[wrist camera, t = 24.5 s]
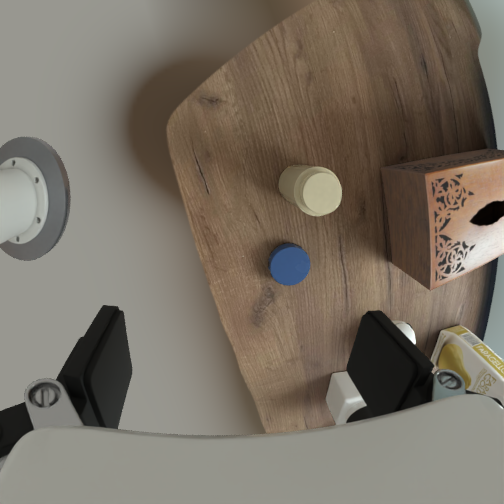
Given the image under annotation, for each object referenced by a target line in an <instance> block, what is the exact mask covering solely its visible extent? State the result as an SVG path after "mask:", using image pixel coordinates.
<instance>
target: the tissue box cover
mask: <svg viewBox="0 0 504 504" xmlns="http://www.w3.org/2000/svg"><path fill="white" fill-rule="evenodd" d="M380 169H381V174H382V180H383V186H384V193H385V200H386V207H387V215H388V223H389V233H390V243H391V255H392V264H394V265H395V266H397V267H398V268H399V269H401V270H402V271H404V272H405V273H407V274H408V275H409V276H411V277H412V278H414V279H415V280H416V281H418V282H419V283H420V284H422V285H423V286H425V287H426V288H427V289H429V290H430V291H431V290H433V289H435V288H437V287H439V286H442V285H444V284H446V283H448V282H450V281H452V280H454V279H456V278H458V277H460V276H462V275H464V274H466V273H468V272H470V271H472V270H474V269H476V268H478V267H480V266H482V265H484V264H486V263H488V262H490V261H491V260H493V259H495V258H497V257H499V256H500V255H502V254H504V150H496V149H483V150H476V151H469V152H463V153H457V154H451V155H445V156H439V157H433V158H428V159H422V160H417V161H412V162H407V163H402V164H396V165H392V166H387V167H382V168H380Z"/></svg>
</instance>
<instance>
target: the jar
mask: <svg viewBox="0 0 504 504" xmlns="http://www.w3.org/2000/svg"><path fill="white" fill-rule="evenodd" d="M279 190H280V193H281V195H282V196H283V198H284V199H285V200H287V201H288V202H290V203H291V204H293V205H294V206H296V207H297V208H299V209H300V210H302V211H303V212H305V213H306V214H309V215H312V216H322V215H326V214H329V213H331V212H333V211H334V210H335V209H336V208H337V207H338V206H339V204H340V201H341V197H342V188H341V185H340V182H339V180H338V178H337V177H336V175H335V174H334V173H333V172H332V171H330V170H329V169H327V168H324V167H318V166H309V165H292V166H290V167H288V168H286V169H285V170H284V171H283V173H282V174H281V176H280V178H279Z"/></svg>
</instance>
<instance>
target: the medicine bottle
mask: <svg viewBox="0 0 504 504" xmlns="http://www.w3.org/2000/svg"><path fill="white" fill-rule="evenodd" d="M326 402H327V404H328V407H329V409H330V412H331V414H332V416H333V419H334V421H335V424H336V425H340V424H345V423H350V422H355V421H360V420H365V419H369V418H374V417H373V415H372V413H371V412H370V410H369V408H368V407H367V405H366V403H365V402H364V400H363V398H362V397H361V395H360V393H359V392H358V390H357V388H356V387H355V385H354V383H353V382H352V380H351V378H350V377H349V375H348V373H347V371H344V372H338V373H333V374H332V376H331V380H330V384H329V388H328V392H327V396H326Z"/></svg>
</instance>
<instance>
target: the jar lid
mask: <svg viewBox="0 0 504 504" xmlns="http://www.w3.org/2000/svg"><path fill="white" fill-rule="evenodd" d="M268 260H269V262H268V268H269V270H270V272H271V275H272V277H273V278H274V279H275V280H276V281H277V282H278V283H280V284H283V285H295V284H297V283H299V282H301V281H302V280H303V279H304V278H305V277H306V276H307V274H308V272H309V269H310V260H309V257H308V255H307V253H306V252H305V251H304V250H303V249H302V248H301V247H300V246H298V245H295V244H293V243H292V244H291V243H288V244H283V245H280V246H277V248H276V249H274V251H273V252H271V255H270V257H269V259H268Z"/></svg>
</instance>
